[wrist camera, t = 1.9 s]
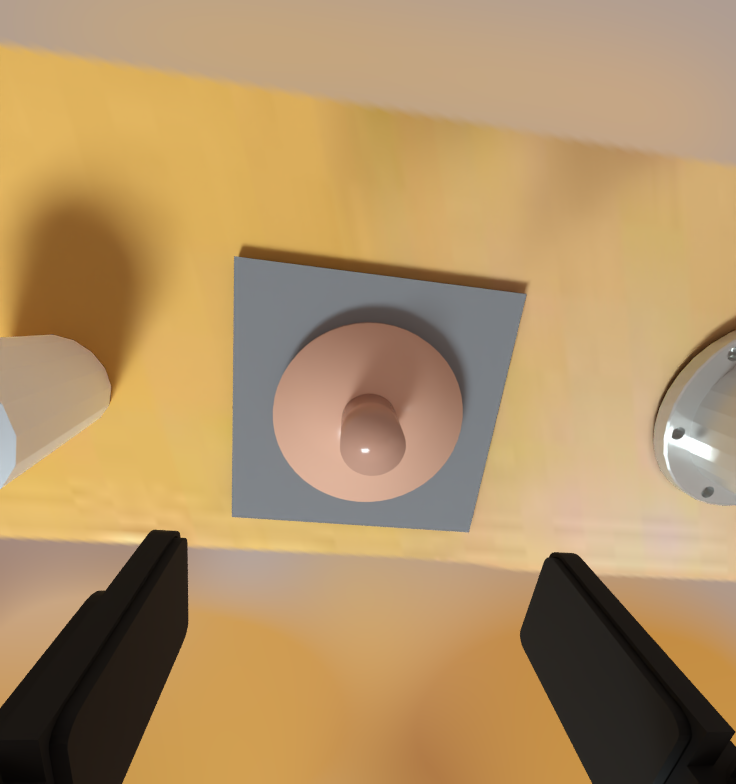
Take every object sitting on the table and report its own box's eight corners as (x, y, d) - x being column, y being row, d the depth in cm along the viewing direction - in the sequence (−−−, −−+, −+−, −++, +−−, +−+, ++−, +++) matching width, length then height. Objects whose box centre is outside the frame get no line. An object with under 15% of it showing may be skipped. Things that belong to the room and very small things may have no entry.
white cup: (147, 389, 21) (51, 440, 14) (72, 458, 22) (-51, 536, 15) (46, 296, 19) (-121, 303, 12) (-31, 376, 20) (-224, 423, 13)
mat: (521, 293, 20) (526, 294, 20) (465, 526, 25) (468, 532, 24) (237, 257, 19) (234, 256, 18) (234, 511, 23) (231, 516, 23)
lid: (491, 426, 22) (526, 461, 18) (353, 522, 23) (353, 575, 19) (386, 280, 19) (397, 278, 15) (237, 400, 20) (207, 430, 16)
